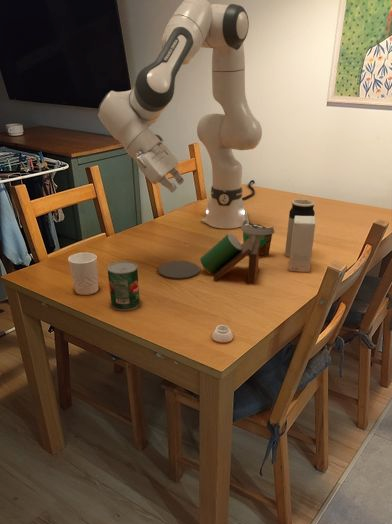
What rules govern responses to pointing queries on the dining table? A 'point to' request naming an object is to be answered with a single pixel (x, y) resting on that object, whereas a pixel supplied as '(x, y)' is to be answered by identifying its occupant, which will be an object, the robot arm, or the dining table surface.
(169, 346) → the dining table surface
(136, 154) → the robot arm
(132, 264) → the canned tomato
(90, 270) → the white cup
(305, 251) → the cosmetic box
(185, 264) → the disc
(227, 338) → the white jar
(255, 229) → the food container
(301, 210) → the travel mug
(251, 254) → the stand
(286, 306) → the dining table surface
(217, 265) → the can
